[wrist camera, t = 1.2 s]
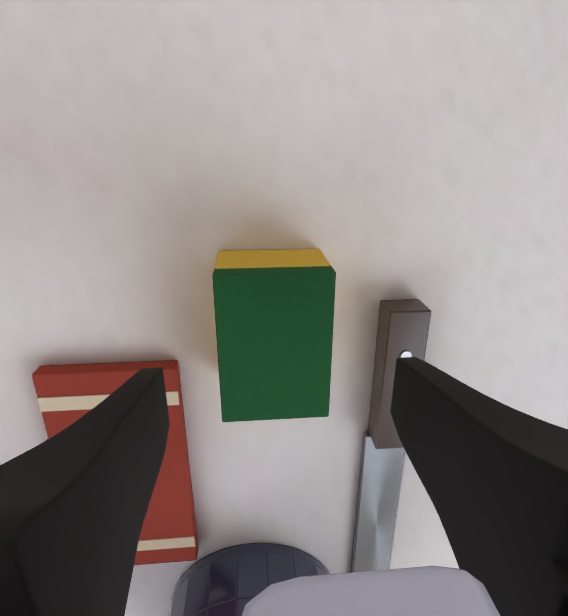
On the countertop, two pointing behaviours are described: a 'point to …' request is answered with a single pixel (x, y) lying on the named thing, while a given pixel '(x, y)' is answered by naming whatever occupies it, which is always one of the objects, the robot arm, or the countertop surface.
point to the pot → (238, 578)
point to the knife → (385, 434)
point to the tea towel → (175, 466)
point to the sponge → (274, 333)
